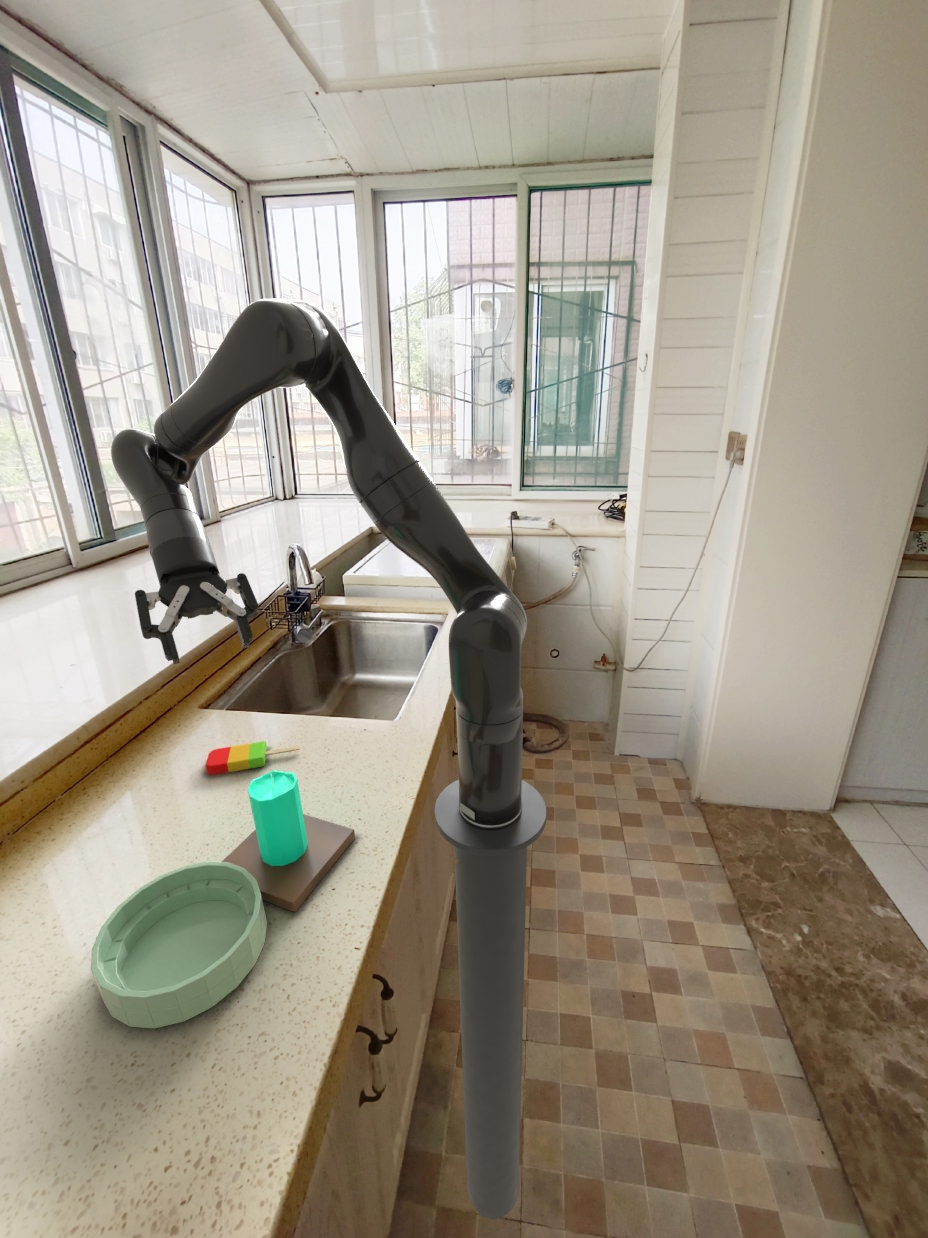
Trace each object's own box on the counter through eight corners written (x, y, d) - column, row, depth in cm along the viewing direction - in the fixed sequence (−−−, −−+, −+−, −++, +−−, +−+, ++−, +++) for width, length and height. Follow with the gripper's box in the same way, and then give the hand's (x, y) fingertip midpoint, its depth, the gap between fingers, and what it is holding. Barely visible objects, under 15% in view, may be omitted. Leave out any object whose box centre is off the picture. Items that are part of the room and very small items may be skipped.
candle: (316, 848, 72) (304, 773, 68) (274, 874, 68) (259, 796, 64) (293, 826, 76) (281, 753, 71) (252, 849, 72) (236, 774, 68)
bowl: (194, 877, 70) (186, 847, 68) (296, 917, 64) (291, 885, 62) (67, 995, 56) (53, 961, 54) (183, 1060, 50) (171, 1024, 48)
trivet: (281, 814, 80) (279, 806, 80) (355, 837, 75) (354, 829, 75) (212, 881, 69) (210, 872, 68) (294, 913, 64) (293, 903, 64)
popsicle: (211, 758, 94) (208, 749, 93) (300, 743, 98) (299, 734, 97) (205, 777, 89) (203, 768, 88) (300, 761, 93) (298, 752, 92)
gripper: (118, 542, 68) (148, 655, 64) (236, 527, 76) (270, 628, 71) (126, 573, 75) (153, 678, 70) (234, 557, 82) (266, 651, 77)
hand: (212, 653), depth 70 cm, fingers open, 8 cm apart
